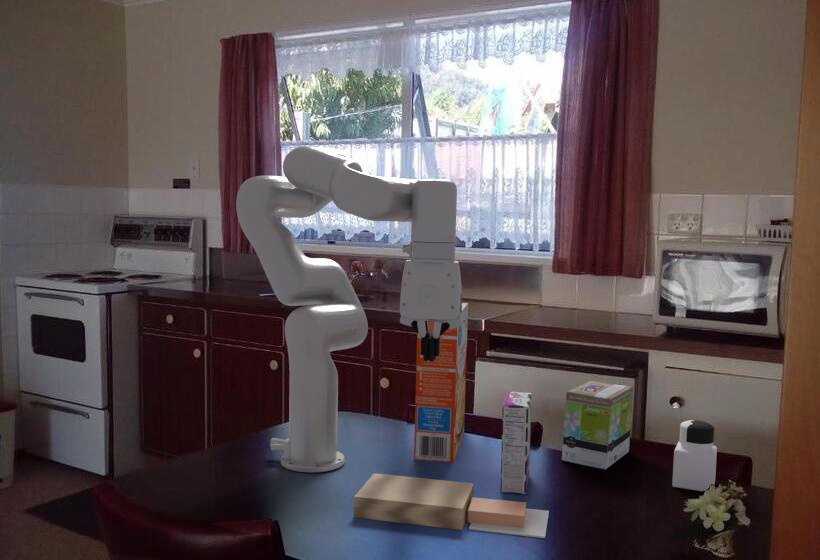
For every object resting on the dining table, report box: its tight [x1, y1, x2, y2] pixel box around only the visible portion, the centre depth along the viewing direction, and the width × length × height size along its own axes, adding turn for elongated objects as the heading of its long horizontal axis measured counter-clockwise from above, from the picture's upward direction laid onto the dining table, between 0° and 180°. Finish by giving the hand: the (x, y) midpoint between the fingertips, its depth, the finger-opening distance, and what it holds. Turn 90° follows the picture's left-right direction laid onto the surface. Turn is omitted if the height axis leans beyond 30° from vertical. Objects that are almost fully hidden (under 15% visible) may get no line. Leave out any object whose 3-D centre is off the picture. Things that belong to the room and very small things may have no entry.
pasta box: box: [413, 302, 469, 464], centre depth 168 cm, size 23×8×30 cm, turn 171°
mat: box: [468, 507, 550, 539], centre depth 128 cm, size 12×11×1 cm
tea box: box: [561, 380, 634, 470], centre depth 163 cm, size 15×10×15 cm
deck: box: [353, 472, 475, 531], centre depth 131 cm, size 18×12×4 cm, turn 77°
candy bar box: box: [500, 390, 532, 495], centre depth 145 cm, size 11×5×16 cm, turn 168°
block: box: [467, 496, 527, 528], centre depth 128 cm, size 9×6×2 cm, turn 78°
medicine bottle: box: [671, 419, 718, 492], centre depth 147 cm, size 7×7×12 cm
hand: (429, 359), depth 133 cm, fingers closed
